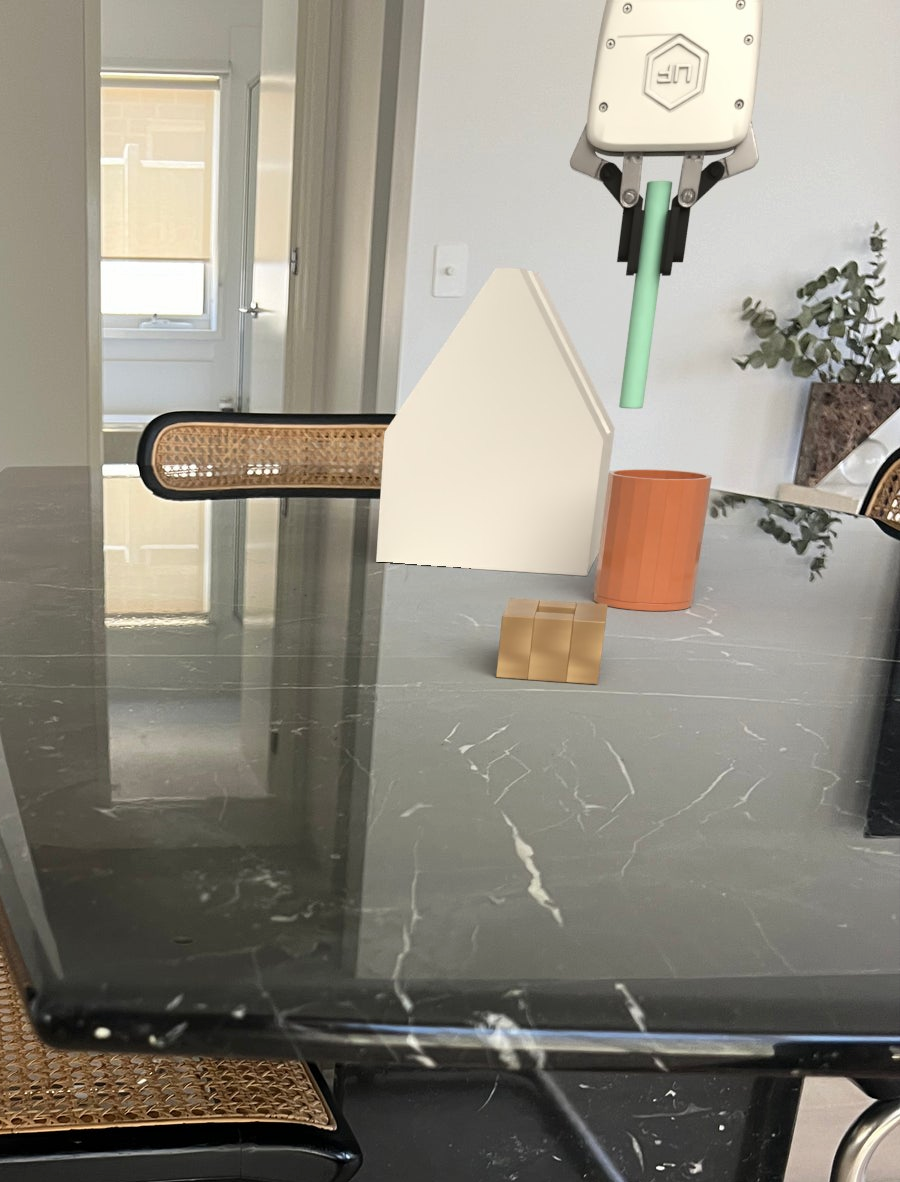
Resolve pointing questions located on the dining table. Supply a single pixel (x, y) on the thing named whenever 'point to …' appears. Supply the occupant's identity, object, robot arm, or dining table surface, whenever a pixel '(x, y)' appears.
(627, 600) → the cup
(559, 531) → the white house shaped block
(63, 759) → the dining table surface
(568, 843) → the dining table surface
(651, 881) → the dining table surface
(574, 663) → the straw holder
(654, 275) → the straw
